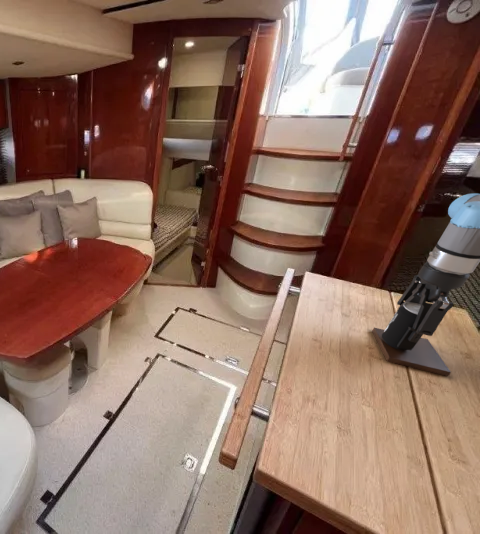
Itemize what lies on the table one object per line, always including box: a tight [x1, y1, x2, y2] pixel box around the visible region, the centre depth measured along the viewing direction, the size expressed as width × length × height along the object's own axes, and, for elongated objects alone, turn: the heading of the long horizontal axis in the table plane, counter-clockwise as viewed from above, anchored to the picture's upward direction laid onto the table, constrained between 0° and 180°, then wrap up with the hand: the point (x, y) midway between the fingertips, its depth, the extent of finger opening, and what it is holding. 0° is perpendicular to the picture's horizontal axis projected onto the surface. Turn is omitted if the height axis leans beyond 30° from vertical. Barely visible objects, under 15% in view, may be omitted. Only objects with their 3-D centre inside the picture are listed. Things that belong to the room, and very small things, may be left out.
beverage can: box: [382, 302, 421, 350], centre depth 82 cm, size 7×7×12 cm
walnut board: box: [371, 327, 452, 377], centre depth 84 cm, size 12×13×2 cm
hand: (398, 339), depth 84 cm, fingers closed on beverage can, 6 cm apart
